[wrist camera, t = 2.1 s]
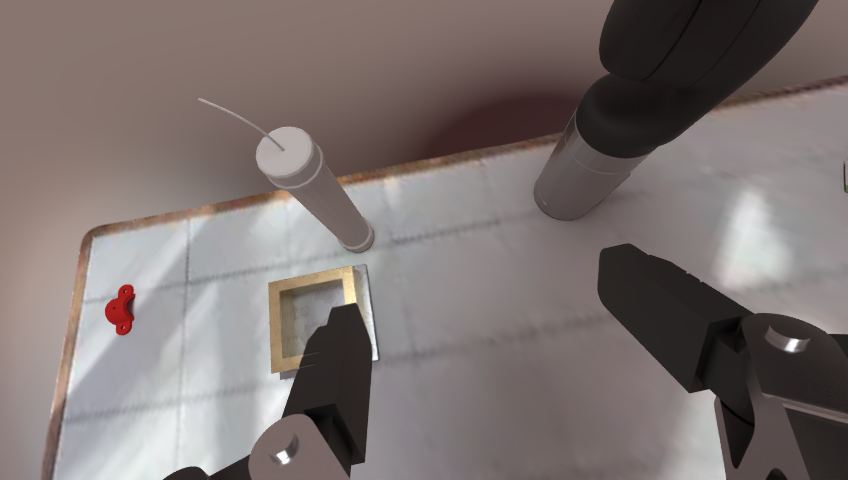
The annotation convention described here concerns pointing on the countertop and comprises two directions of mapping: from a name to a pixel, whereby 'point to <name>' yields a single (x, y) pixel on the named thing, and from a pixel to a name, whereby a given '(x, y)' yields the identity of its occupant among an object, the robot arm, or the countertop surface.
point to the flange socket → (313, 311)
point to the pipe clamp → (120, 310)
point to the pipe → (310, 182)
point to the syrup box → (846, 174)
